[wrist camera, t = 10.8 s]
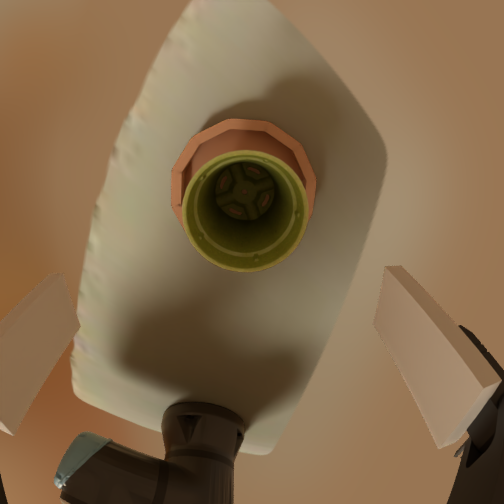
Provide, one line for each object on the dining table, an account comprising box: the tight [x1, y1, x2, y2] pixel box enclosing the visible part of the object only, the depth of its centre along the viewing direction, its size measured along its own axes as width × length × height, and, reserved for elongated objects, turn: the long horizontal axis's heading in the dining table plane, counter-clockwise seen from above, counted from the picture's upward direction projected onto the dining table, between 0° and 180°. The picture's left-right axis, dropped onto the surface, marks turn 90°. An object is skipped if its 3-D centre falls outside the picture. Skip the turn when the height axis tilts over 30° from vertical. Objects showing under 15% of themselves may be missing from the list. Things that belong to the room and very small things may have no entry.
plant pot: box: [182, 150, 309, 272], centre depth 25 cm, size 9×9×9 cm
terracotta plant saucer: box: [171, 118, 317, 232], centre depth 29 cm, size 14×14×2 cm
